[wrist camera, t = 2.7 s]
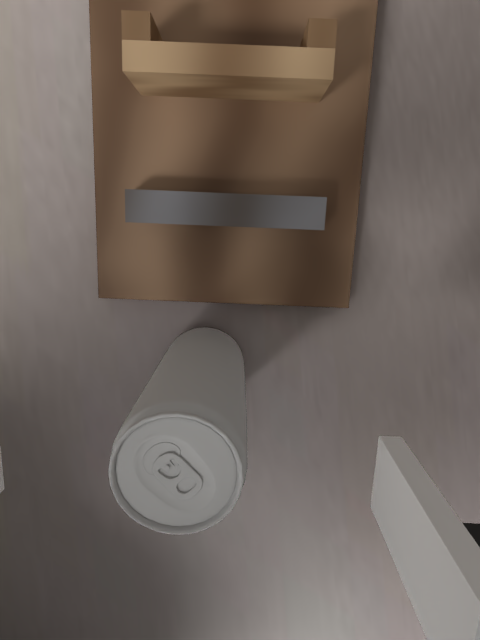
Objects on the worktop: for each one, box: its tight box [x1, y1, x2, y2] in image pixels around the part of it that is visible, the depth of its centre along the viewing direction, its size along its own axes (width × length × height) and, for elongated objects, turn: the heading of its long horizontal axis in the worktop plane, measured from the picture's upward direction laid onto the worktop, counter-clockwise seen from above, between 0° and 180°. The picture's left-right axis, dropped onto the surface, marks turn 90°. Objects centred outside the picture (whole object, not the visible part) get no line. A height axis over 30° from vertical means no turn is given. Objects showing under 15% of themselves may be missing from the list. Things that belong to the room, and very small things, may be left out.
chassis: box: [89, 0, 378, 308], centre depth 20 cm, size 14×22×5 cm, turn 178°
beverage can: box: [108, 327, 247, 535], centre depth 20 cm, size 5×5×12 cm
